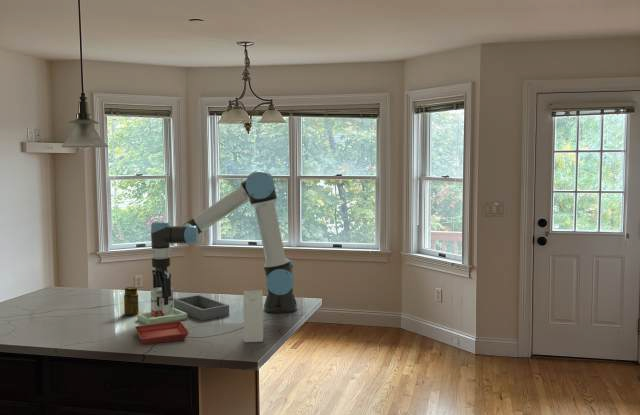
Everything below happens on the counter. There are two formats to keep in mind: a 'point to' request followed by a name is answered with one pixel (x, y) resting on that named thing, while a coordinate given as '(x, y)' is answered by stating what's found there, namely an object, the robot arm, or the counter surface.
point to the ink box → (160, 303)
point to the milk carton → (253, 316)
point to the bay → (188, 307)
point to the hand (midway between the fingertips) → (162, 310)
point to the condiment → (130, 302)
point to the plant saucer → (162, 332)
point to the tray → (162, 317)
